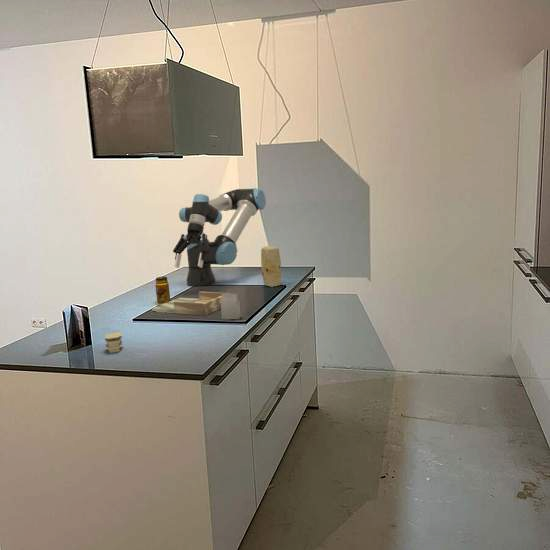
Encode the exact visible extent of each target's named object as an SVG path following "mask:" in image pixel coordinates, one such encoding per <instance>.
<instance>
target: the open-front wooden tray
mask: <svg viewBox="0 0 550 550" xmlns="http://www.w3.org/2000/svg"><path fill="white" fill-rule="evenodd" d="M222 294H231V293H230V292H218V291H215V292H214V291H198V298H193V297H192V298H191V297H190V298H189V297H178V298H175V299H171V300H172V301H170V302H167V303H164V304H160V305H157V306H153V307H151V308H152V309H151V311H156V313H165V312H166V313H167V314H169V313H170V314H181V315H183V314H184V315H191V316H193V315H196V316H208V315H210V314H213V313H214V311H215V312H217V311H219V310H221V299H222ZM212 312H213V313H212ZM166 313H165V314H166Z"/></svg>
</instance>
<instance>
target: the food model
mask: <svg viewBox="0 0 550 550" xmlns="http://www.w3.org/2000/svg"><path fill="white" fill-rule="evenodd" d="M280 255H281V254H280V248H279V247H277V246H273V245H266V246H263V247H261V249H260V263H261V264H260V265H261V273H262V274H261V276H262V281H263V283H264V285H265V287H266V286H267V287H270V288H274V286H275V287H278V286H281V285H282V283H283V282H282V264H281V263H282V262H281V256H280Z"/></svg>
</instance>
